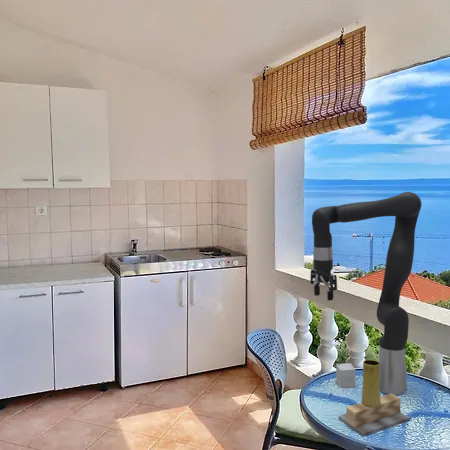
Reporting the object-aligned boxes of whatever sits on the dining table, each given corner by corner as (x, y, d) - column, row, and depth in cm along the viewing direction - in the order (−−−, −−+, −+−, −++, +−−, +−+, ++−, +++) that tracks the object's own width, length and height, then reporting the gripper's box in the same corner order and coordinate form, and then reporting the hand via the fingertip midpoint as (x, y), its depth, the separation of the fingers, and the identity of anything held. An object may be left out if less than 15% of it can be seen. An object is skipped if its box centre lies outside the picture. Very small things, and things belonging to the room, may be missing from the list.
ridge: (383, 404, 168) (383, 388, 167) (409, 420, 157) (409, 403, 156) (338, 418, 159) (338, 402, 158) (363, 436, 148) (363, 418, 148)
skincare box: (355, 387, 181) (355, 369, 180) (340, 388, 181) (340, 370, 180) (350, 380, 187) (350, 362, 186) (335, 381, 187) (335, 363, 186)
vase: (381, 408, 153) (382, 366, 152) (362, 407, 155) (362, 365, 153) (379, 399, 159) (380, 359, 157) (360, 398, 160) (361, 358, 159)
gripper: (342, 259, 181) (342, 300, 183) (319, 254, 194) (320, 292, 196) (326, 261, 178) (326, 303, 180) (304, 256, 191) (305, 295, 193)
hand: (323, 297), depth 188 cm, fingers open, 8 cm apart
